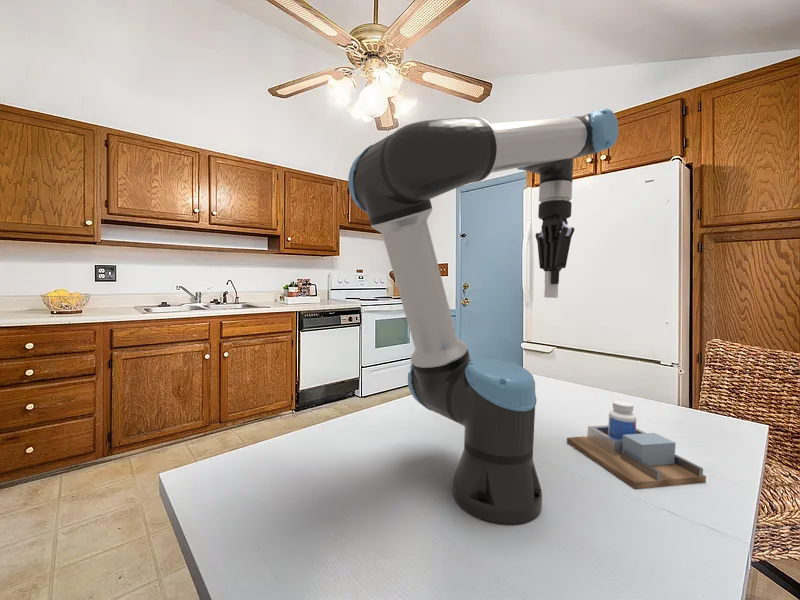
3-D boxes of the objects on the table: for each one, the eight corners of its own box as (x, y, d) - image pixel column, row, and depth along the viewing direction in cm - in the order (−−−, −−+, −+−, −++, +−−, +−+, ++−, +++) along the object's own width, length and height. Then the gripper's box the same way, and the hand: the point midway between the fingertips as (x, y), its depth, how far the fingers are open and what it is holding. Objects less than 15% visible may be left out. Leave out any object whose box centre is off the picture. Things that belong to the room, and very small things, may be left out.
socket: (614, 455, 79) (615, 441, 79) (587, 438, 88) (587, 426, 88) (657, 452, 82) (658, 438, 81) (627, 436, 90) (627, 424, 90)
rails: (657, 480, 69) (657, 472, 69) (620, 458, 78) (620, 450, 78) (702, 476, 71) (703, 468, 71) (661, 454, 80) (662, 447, 80)
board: (634, 488, 69) (635, 482, 69) (566, 442, 88) (567, 437, 88) (705, 482, 72) (706, 476, 72) (624, 438, 91) (624, 434, 91)
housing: (641, 466, 75) (642, 445, 74) (621, 455, 79) (622, 434, 79) (674, 464, 76) (675, 442, 76) (653, 452, 81) (654, 432, 81)
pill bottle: (639, 452, 81) (641, 408, 81) (612, 449, 83) (614, 406, 82) (629, 441, 87) (631, 400, 86) (604, 439, 88) (606, 398, 87)
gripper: (586, 197, 85) (581, 299, 87) (553, 208, 98) (549, 296, 99) (556, 195, 84) (552, 298, 85) (527, 206, 97) (523, 296, 98)
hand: (550, 297), depth 92 cm, fingers closed
